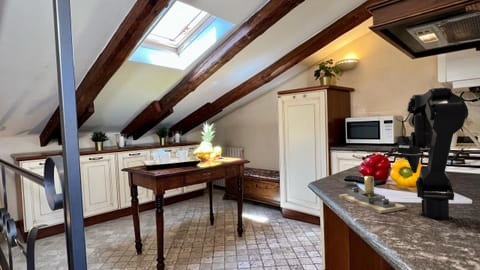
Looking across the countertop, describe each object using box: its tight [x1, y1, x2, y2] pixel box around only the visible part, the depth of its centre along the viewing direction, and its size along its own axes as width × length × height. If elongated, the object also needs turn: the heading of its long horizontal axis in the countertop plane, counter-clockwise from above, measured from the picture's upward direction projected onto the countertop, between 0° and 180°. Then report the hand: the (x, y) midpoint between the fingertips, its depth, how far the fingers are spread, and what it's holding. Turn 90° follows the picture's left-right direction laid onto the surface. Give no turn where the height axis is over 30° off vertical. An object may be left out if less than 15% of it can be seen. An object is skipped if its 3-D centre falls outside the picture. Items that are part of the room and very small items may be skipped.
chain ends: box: [346, 186, 396, 208], centre depth 103 cm, size 19×8×3 cm, turn 17°
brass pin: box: [363, 175, 375, 197], centre depth 103 cm, size 3×3×9 cm
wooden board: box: [338, 193, 407, 214], centre depth 103 cm, size 22×11×1 cm, turn 17°
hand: (424, 171), depth 97 cm, fingers open, 9 cm apart
